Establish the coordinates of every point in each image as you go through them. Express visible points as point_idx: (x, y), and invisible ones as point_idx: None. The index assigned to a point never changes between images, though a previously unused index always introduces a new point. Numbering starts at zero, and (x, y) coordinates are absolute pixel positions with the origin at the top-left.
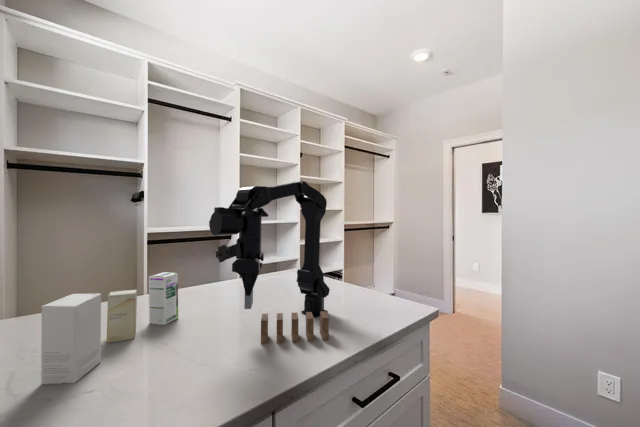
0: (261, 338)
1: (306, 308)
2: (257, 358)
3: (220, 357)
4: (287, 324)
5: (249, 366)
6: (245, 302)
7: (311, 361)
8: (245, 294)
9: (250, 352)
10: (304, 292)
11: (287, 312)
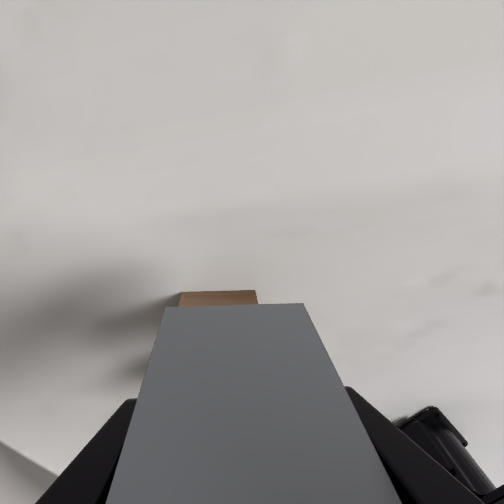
0: (179, 305)
1: (418, 444)
2: (67, 291)
3: (65, 154)
4: (341, 366)
5: (7, 271)
6: (156, 343)
7: (60, 429)
8: (139, 397)
9: (112, 263)
10: (498, 498)
11: (460, 362)
